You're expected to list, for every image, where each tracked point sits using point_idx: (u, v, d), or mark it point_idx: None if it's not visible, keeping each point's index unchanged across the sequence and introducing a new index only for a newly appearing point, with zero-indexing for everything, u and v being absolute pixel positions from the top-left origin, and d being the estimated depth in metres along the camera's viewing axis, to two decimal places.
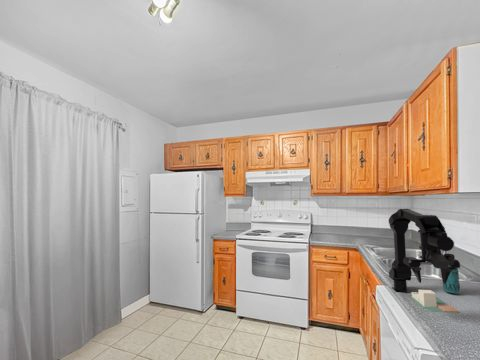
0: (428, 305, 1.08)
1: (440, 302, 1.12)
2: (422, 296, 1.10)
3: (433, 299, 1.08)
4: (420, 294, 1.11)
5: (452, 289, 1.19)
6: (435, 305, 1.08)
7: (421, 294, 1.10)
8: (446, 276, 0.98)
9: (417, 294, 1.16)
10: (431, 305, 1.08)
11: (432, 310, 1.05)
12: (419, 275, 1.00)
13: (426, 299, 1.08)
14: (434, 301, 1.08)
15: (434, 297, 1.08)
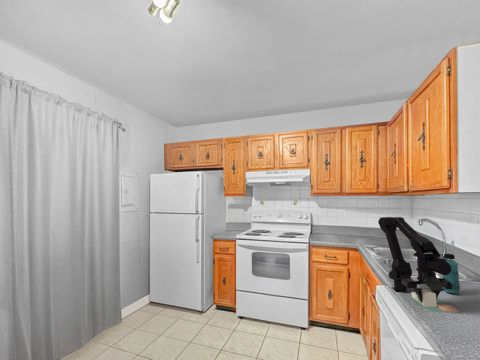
0: (428, 305, 1.08)
1: (440, 302, 1.12)
2: (422, 296, 1.10)
3: (433, 299, 1.08)
4: None
5: (452, 289, 1.19)
6: (435, 305, 1.08)
7: None
8: None
9: None
10: (431, 305, 1.08)
11: (432, 310, 1.05)
12: (420, 295, 1.10)
13: (426, 299, 1.08)
14: (434, 301, 1.08)
15: (434, 297, 1.08)
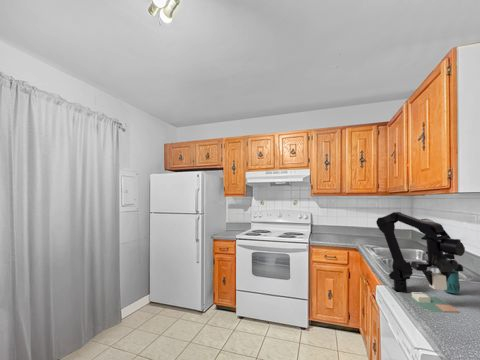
0: (438, 288, 1.08)
1: (440, 302, 1.12)
2: None
3: (443, 282, 1.08)
4: None
5: (452, 289, 1.19)
6: (445, 288, 1.07)
7: None
8: (446, 279, 1.08)
9: (417, 294, 1.16)
10: (441, 288, 1.08)
11: (432, 310, 1.05)
12: (430, 278, 1.09)
13: (437, 282, 1.08)
14: (444, 284, 1.07)
15: (444, 279, 1.08)
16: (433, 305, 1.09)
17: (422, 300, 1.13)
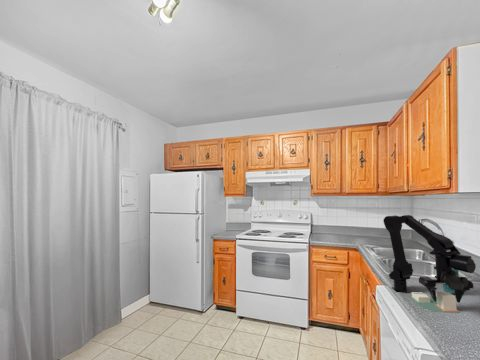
0: (448, 308, 1.04)
1: None
2: (440, 298, 1.06)
3: (453, 302, 1.04)
4: (439, 297, 1.07)
5: (452, 289, 1.19)
6: (455, 308, 1.04)
7: (440, 296, 1.06)
8: (460, 296, 1.05)
9: (417, 294, 1.16)
10: (451, 308, 1.04)
11: (432, 310, 1.05)
12: (434, 295, 1.06)
13: (446, 302, 1.04)
14: (454, 304, 1.04)
15: (454, 300, 1.04)
16: (433, 305, 1.09)
17: (422, 300, 1.13)
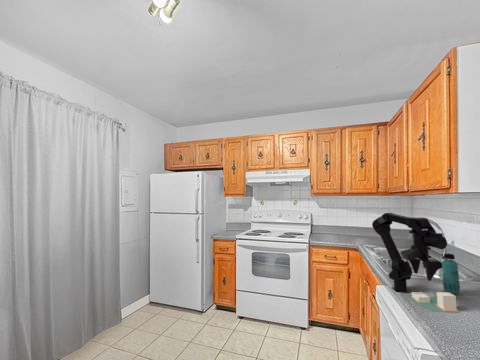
0: (448, 308, 1.04)
1: None
2: (440, 298, 1.06)
3: (453, 302, 1.04)
4: (439, 297, 1.07)
5: (452, 289, 1.19)
6: (455, 308, 1.04)
7: (440, 296, 1.06)
8: None
9: (417, 294, 1.16)
10: (451, 308, 1.04)
11: (432, 310, 1.05)
12: (412, 266, 1.20)
13: (446, 302, 1.04)
14: (454, 304, 1.04)
15: (454, 300, 1.04)
16: (433, 305, 1.09)
17: (422, 300, 1.13)
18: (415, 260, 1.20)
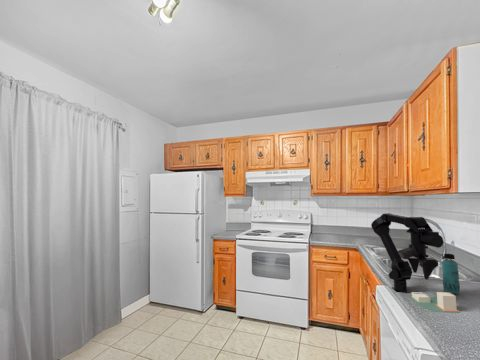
0: (448, 308, 1.04)
1: None
2: (440, 298, 1.06)
3: (453, 302, 1.04)
4: (439, 297, 1.07)
5: (452, 289, 1.19)
6: (455, 308, 1.04)
7: (440, 296, 1.06)
8: (423, 272, 1.10)
9: (417, 294, 1.16)
10: (451, 308, 1.04)
11: (432, 310, 1.05)
12: (411, 265, 1.20)
13: (446, 302, 1.04)
14: (454, 304, 1.04)
15: (454, 300, 1.04)
16: (433, 305, 1.09)
17: (422, 300, 1.13)
18: (414, 259, 1.20)
